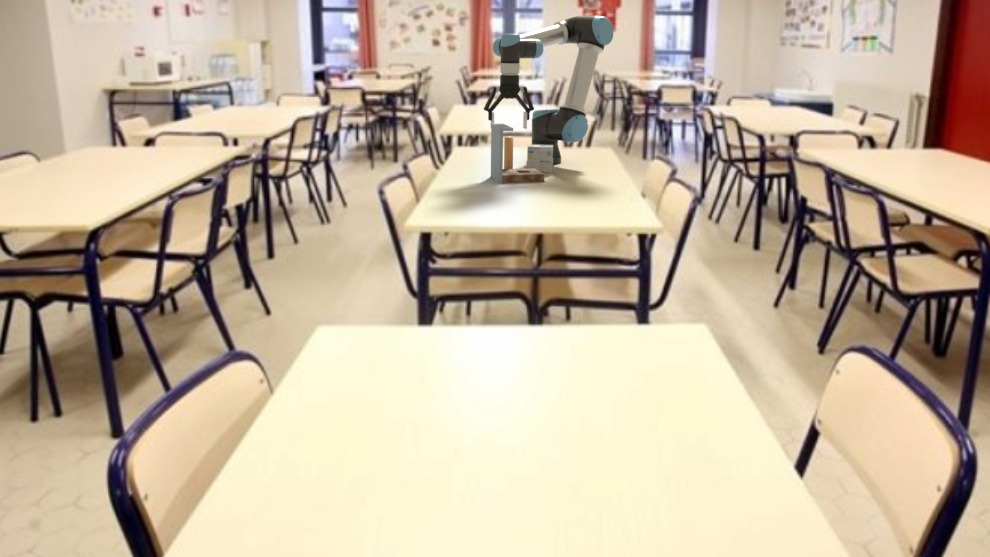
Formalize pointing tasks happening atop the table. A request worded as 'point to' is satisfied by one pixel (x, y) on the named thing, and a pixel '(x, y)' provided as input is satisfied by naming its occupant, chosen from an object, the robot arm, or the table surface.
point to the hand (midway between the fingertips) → (508, 128)
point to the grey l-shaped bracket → (497, 150)
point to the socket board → (522, 175)
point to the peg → (508, 152)
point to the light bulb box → (540, 157)
